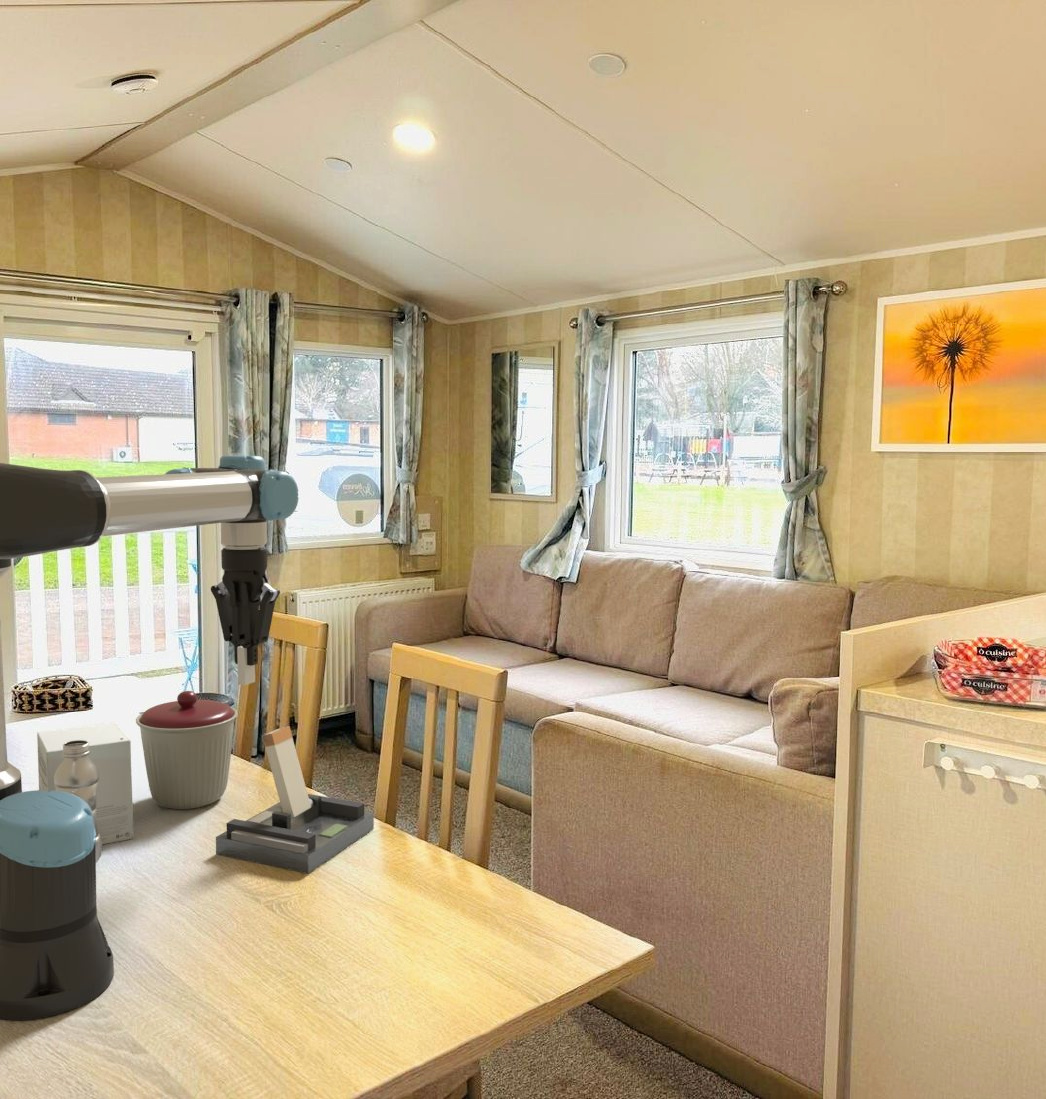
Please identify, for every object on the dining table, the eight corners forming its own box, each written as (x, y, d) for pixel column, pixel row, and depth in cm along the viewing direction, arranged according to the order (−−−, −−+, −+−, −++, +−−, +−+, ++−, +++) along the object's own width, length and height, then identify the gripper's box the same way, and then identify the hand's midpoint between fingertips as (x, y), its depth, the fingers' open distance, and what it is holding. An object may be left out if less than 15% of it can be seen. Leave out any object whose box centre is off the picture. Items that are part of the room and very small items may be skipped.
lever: (290, 821, 163) (267, 735, 163) (280, 822, 164) (257, 737, 164) (315, 806, 169) (293, 724, 170) (305, 808, 170) (283, 726, 170)
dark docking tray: (303, 853, 155) (303, 841, 155) (221, 837, 161) (221, 825, 160) (364, 814, 172) (364, 803, 171) (287, 800, 178) (287, 790, 177)
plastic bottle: (86, 875, 153) (81, 751, 150) (47, 871, 154) (43, 747, 152) (111, 858, 159) (107, 739, 157) (74, 854, 160) (70, 736, 158)
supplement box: (119, 814, 178) (117, 720, 176) (134, 839, 167) (132, 739, 165) (39, 828, 171) (35, 731, 169) (49, 855, 160) (45, 751, 158)
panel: (308, 873, 154) (308, 834, 154) (216, 854, 161) (215, 816, 160) (373, 828, 173) (373, 793, 172) (288, 813, 180) (288, 778, 179)
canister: (243, 810, 181) (241, 699, 178) (138, 823, 174) (135, 707, 172) (234, 779, 197) (232, 677, 195) (137, 789, 191) (135, 683, 188)
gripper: (289, 546, 167) (291, 682, 169) (228, 542, 172) (230, 674, 174) (261, 550, 160) (263, 692, 162) (198, 546, 165) (201, 683, 167)
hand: (246, 682), depth 168 cm, fingers closed
